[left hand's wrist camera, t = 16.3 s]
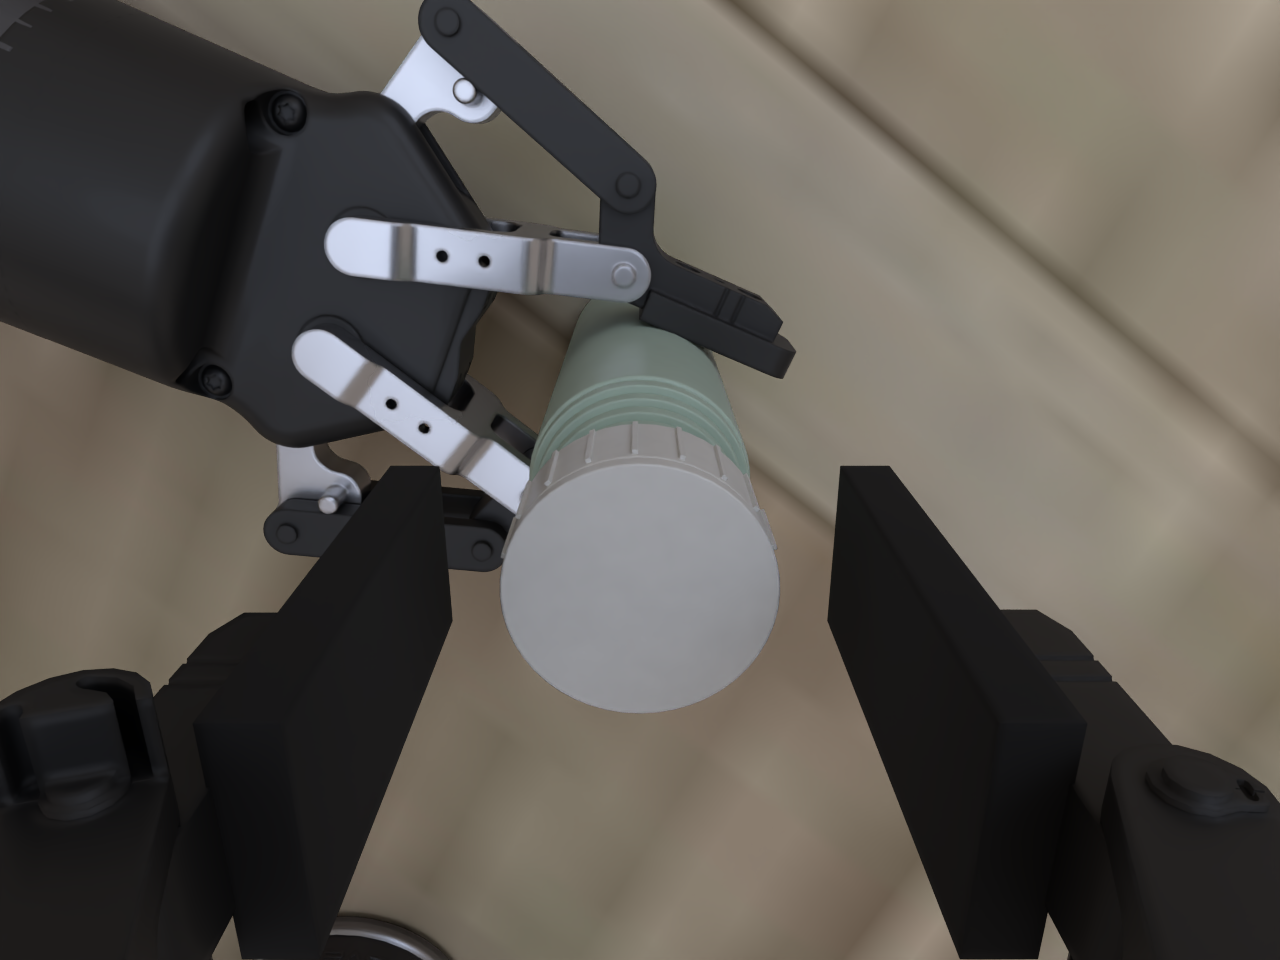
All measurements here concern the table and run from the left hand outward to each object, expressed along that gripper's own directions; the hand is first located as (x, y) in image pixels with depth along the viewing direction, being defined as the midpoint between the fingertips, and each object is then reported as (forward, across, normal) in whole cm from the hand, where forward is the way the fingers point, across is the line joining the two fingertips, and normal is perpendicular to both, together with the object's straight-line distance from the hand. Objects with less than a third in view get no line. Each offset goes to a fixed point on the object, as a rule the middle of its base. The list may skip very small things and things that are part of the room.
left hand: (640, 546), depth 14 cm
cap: (-1, 0, 0) cm, 1 cm away
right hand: (+8, -2, +1) cm, 9 cm away
